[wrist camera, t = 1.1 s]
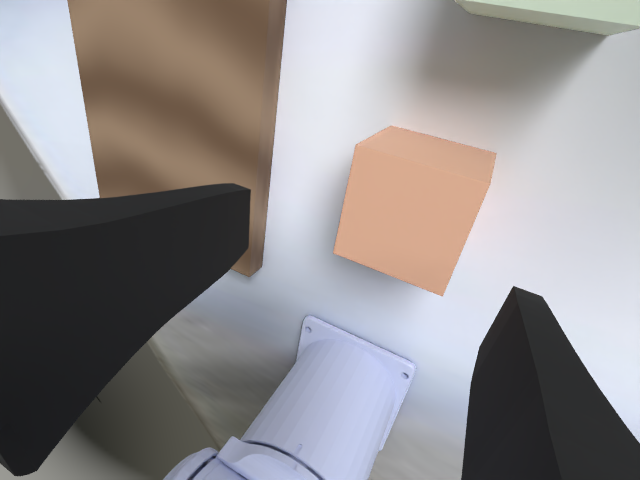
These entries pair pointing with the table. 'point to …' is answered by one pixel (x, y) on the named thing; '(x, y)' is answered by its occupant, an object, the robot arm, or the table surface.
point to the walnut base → (182, 96)
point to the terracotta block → (412, 205)
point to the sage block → (563, 13)
